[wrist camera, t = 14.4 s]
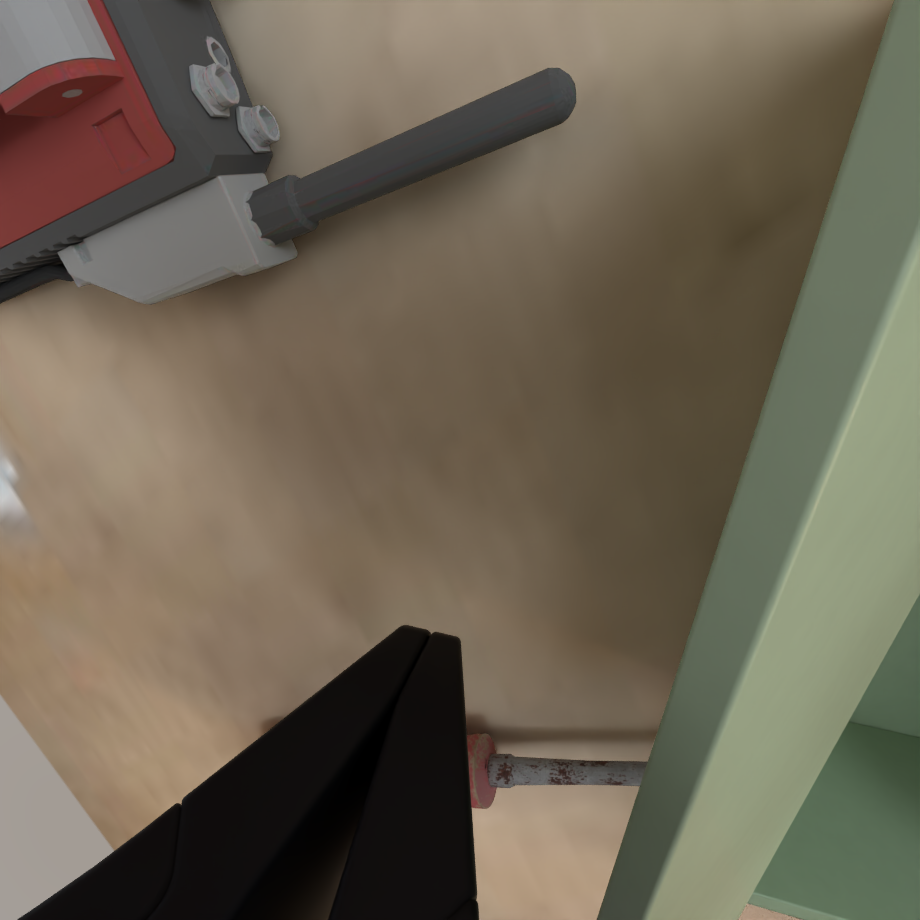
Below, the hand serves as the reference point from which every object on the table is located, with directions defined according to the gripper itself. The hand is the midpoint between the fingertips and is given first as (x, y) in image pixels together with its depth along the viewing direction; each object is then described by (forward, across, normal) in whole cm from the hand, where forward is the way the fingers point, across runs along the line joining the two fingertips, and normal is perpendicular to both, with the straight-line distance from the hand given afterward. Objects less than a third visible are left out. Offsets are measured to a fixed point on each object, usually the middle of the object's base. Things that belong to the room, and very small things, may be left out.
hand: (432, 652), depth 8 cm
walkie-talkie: (+10, +10, -7) cm, 16 cm away
